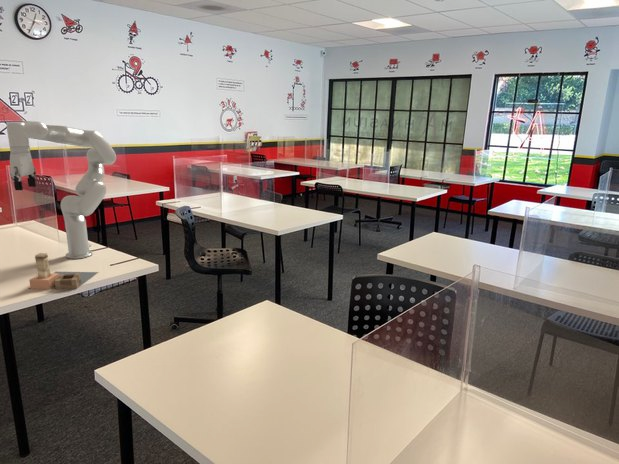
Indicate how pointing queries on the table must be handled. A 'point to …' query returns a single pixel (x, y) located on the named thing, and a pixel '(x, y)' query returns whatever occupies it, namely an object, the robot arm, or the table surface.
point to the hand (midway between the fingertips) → (25, 188)
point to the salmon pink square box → (43, 282)
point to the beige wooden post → (42, 265)
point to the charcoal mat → (84, 277)
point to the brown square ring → (68, 281)
